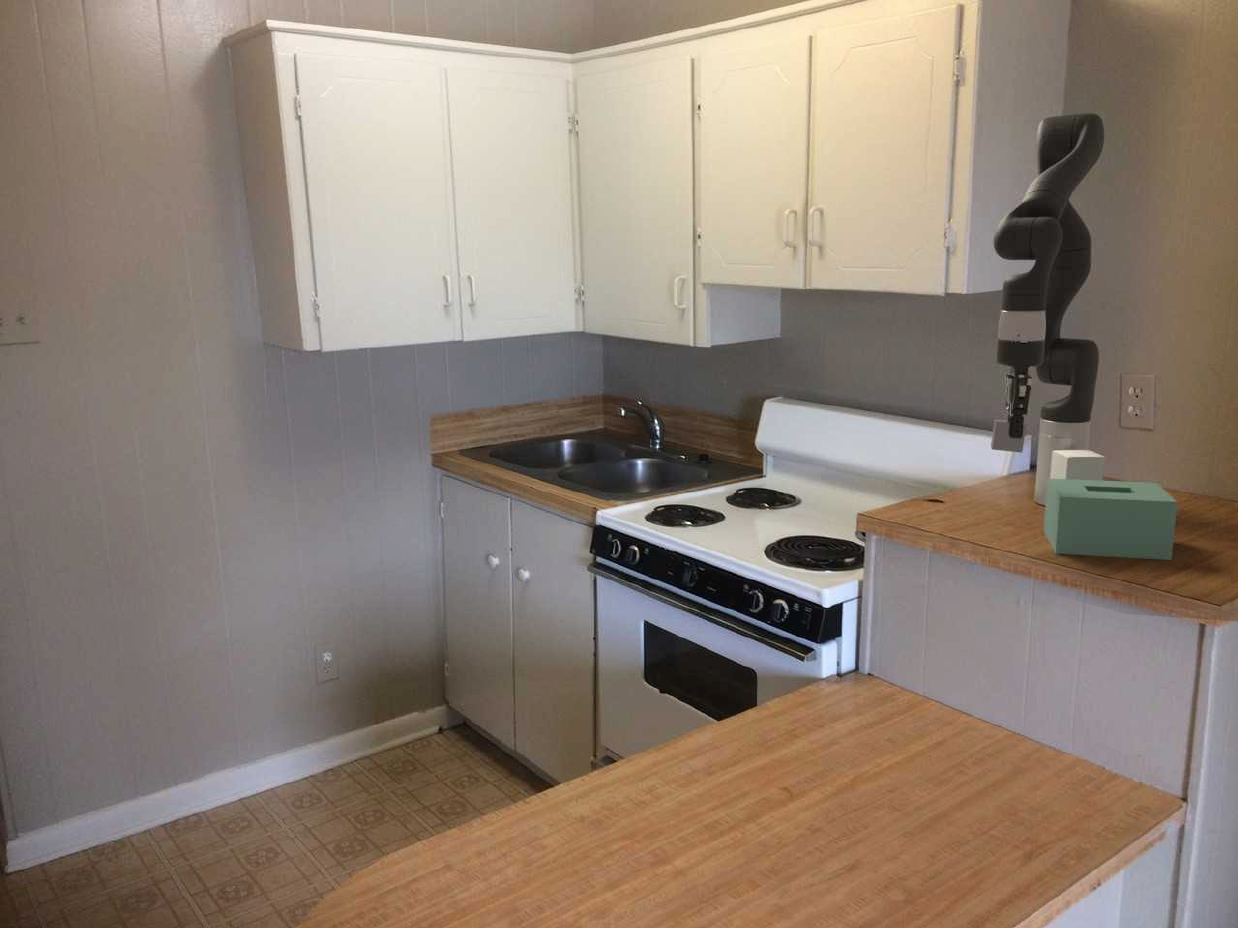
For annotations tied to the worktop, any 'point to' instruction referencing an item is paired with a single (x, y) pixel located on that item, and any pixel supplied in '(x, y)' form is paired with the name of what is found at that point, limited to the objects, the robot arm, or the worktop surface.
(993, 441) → the block
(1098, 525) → the money box
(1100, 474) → the supplement box
